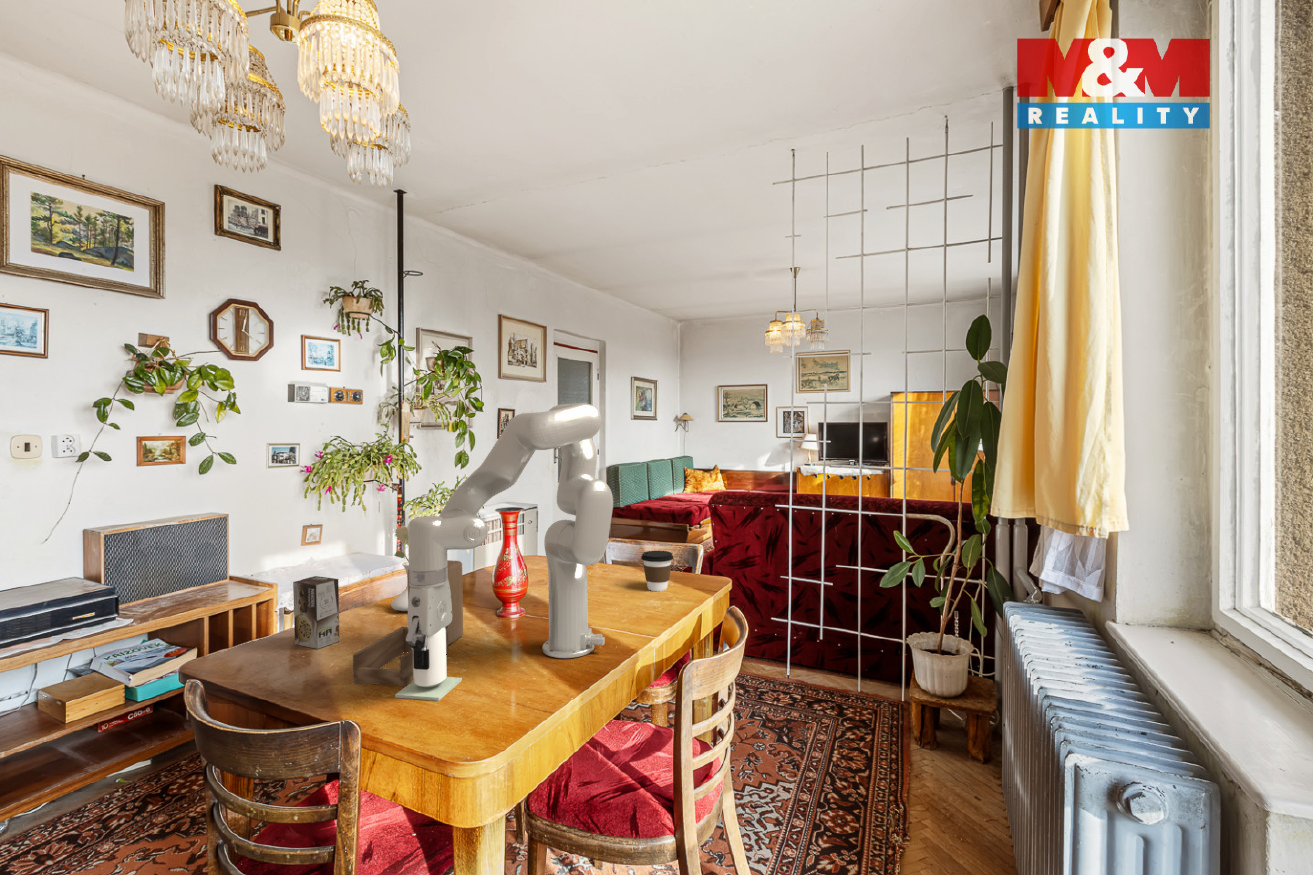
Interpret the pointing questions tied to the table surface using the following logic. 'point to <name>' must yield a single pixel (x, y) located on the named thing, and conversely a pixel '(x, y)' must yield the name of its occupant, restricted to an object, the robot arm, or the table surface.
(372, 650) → the walnut box
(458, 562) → the block
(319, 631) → the coffee box
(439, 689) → the sage mat
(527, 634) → the table surface
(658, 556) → the coffee cup
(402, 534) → the flower in vase
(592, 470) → the robot arm
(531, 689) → the table surface
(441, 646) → the can
